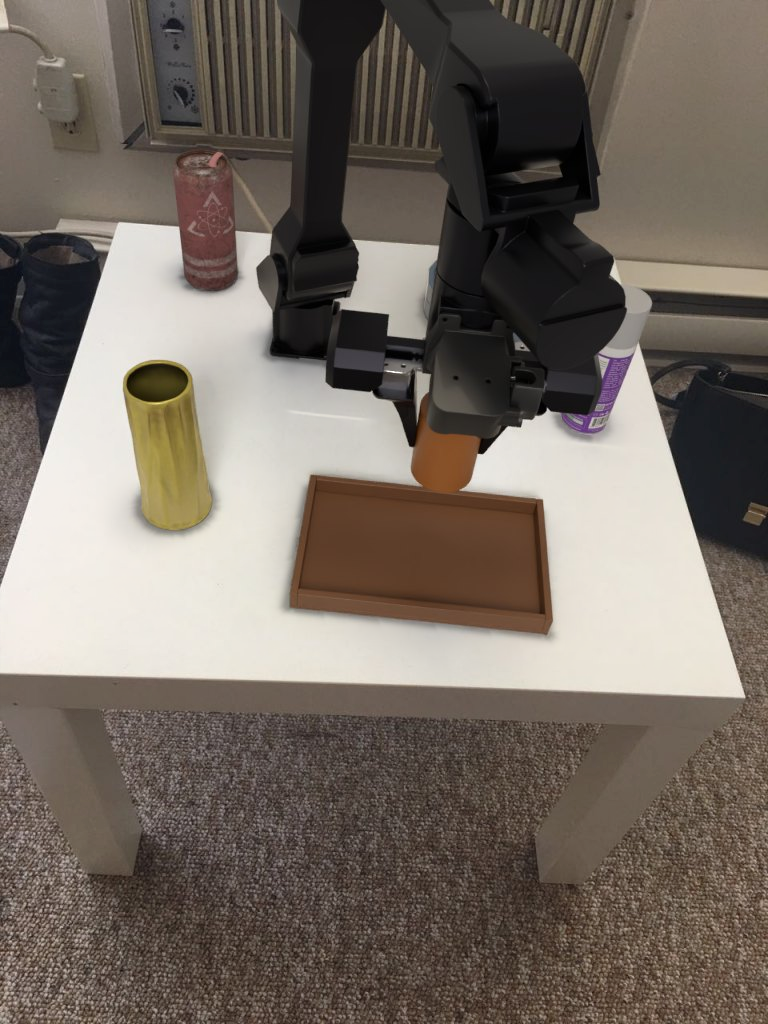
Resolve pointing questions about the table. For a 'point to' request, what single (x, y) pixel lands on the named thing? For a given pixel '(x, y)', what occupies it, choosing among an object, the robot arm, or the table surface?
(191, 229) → the can
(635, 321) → the container
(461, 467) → the bottle
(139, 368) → the vase
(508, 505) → the tray
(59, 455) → the table surface
